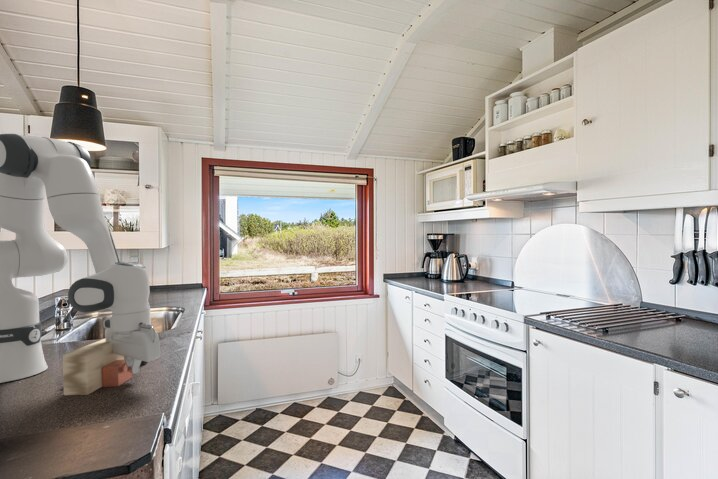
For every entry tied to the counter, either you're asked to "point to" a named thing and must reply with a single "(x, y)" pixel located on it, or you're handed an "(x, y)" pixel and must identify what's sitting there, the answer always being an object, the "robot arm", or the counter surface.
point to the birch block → (87, 367)
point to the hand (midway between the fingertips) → (133, 372)
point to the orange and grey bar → (115, 373)
